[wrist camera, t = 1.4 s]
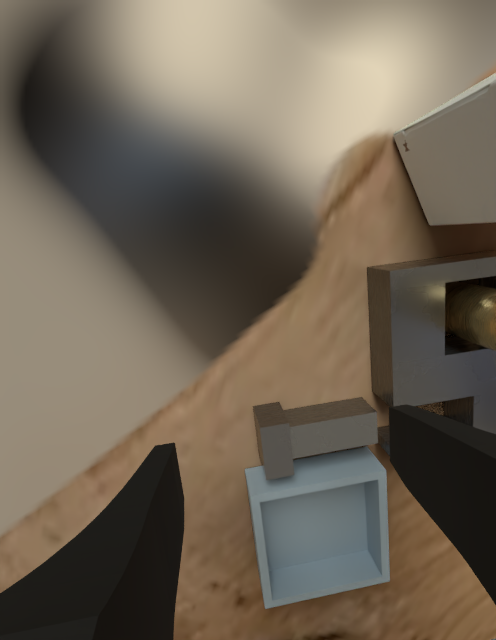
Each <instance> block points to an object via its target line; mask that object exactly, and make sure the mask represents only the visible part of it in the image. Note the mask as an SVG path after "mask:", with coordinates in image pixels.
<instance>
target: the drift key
mask: <svg viewBox="0 0 496 640" xmlns="http://www.w3.org/2000/svg"><path fill="white" fill-rule="evenodd" d="M253 410H254V418H255V426H256V434H257V442H258V450H259V456H260V459H261V463H262V467H263V470H264V474H265V478H266V480H270V479H276V478H281V477H286V476H292V475H294V466H293V459H295V458H300V457H305V456H311V455H316V454H322V453H327V452H333V451H338V450H344V449H349V448H355V447H360V446H365V445H371V444H376V443H378V431H377V412H376V411H375V410H374V409H373V408H372V407H371V406H370V405H369V404H368V403H367V402H366V401H365V400H364V399H363V398H362V397H360V398H354V399H348V400H342V401H336V402H330V403H324V404H319V405H313V406H307V407H301V408H295V409H289V410H283V409H282V407H281V405H280V403H279V402H276V403H270V404H264V405H258V406H253Z"/></svg>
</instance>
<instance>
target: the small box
mask: <svg viewBox="0 0 496 640" xmlns="http://www.w3.org/2000/svg"><path fill="white" fill-rule="evenodd" d="M394 139H395V141H396V144H397V147H398V149H399V152H400V154H401V157H402V159H403V162H404V164H405V167H406V169H407V172H408V174H409V176H410V179H411V182H412V184H413V186H414V189H415V191H416V194H417V196H418V199H419V201H420V204H421V206H422V209H423V211H424V214H425V216H426V218H427V221H428V223H429V225H430V226H441V225H461V224H480V223H496V73H495V74H493V75H491V76H490V77H488V78H486V79H484V80H483V81H481V82H479V83H478V84H476V85H474V86H473V87H471V88H469V89H467V90H466V91H464V92H462V93H461V94H459V95H457V96H456V97H454V98H452V99H451V100H449V101H447V102H446V103H444V104H442V105H441V106H439V107H437V108H436V109H434V110H432V111H431V112H429V113H427V114H425V115H424V116H422V117H421V118H419V119H417V120H415V121H414V122H412V123H410V124H408V125H407V126H405V127H403V128H402V129H400V130H398V131H396V132H395V133H394Z"/></svg>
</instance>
